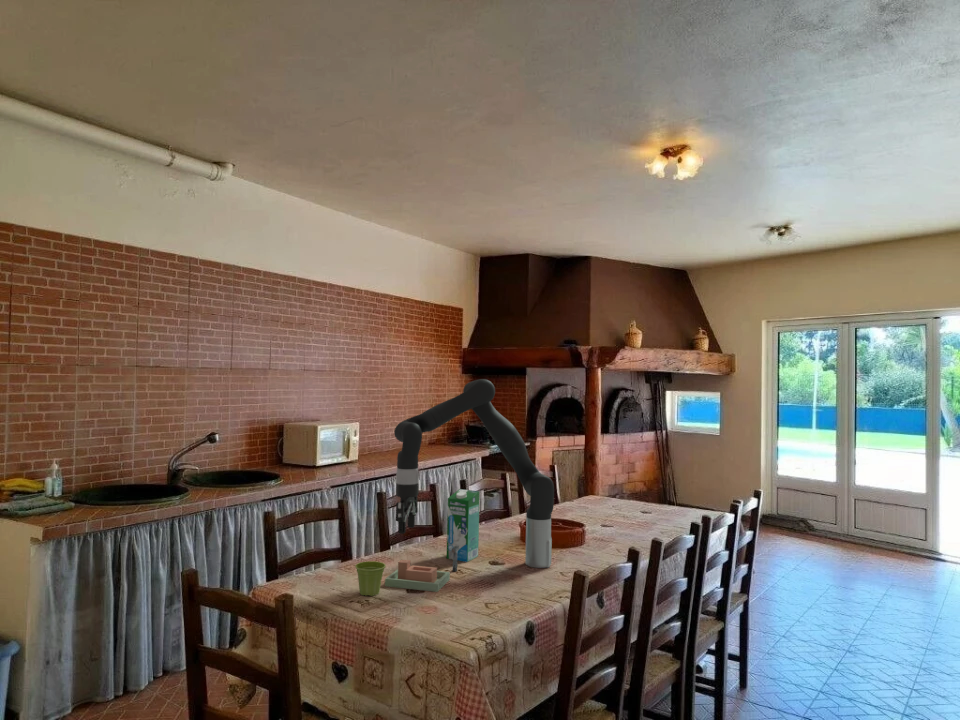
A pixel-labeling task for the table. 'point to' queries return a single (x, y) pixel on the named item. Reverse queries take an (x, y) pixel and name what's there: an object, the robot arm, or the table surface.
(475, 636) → the table surface
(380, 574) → the plant pot
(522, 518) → the table surface
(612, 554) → the table surface
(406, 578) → the collar
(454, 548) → the hammer
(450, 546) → the milk carton
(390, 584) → the tray
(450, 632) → the table surface
